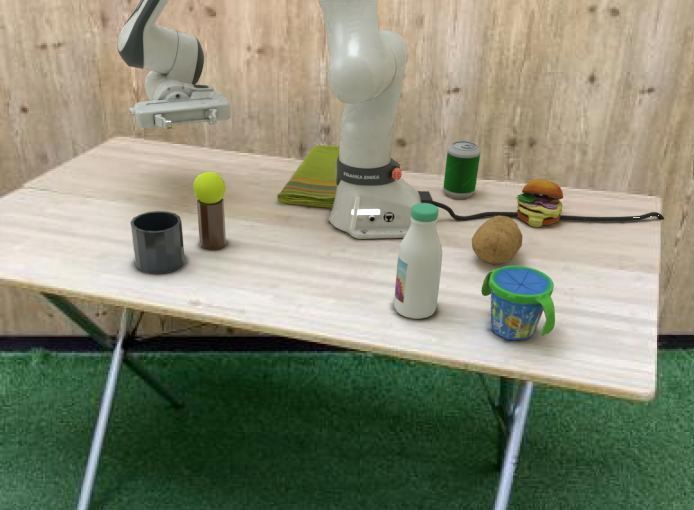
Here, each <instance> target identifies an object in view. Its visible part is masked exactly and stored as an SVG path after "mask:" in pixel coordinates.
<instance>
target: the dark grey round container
mask: <svg viewBox="0 0 694 510" xmlns="http://www.w3.org/2000/svg"><path fill="white" fill-rule="evenodd" d="M130 229H131V237H132V245H133V254H134V261H135V267H136V268H137V269H138V270H139V271H140V272H143V273H146V274H151V275H163V274H168V273H173V272H175V271H177V270H179V269H181V268H182V267H183V266H184V264H185V259H186V258H185V248H184V236H183V235H184V233H183V224H182V218H181V216H179V215H178V214H176V213H174V212H171V211H166V210H152V211H145V212H142V213H139V214H138V215H136V216H134V217H133V218H132V219H131V220H130Z"/></svg>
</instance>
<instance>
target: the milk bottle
mask: <svg viewBox="0 0 694 510" xmlns="http://www.w3.org/2000/svg"><path fill="white" fill-rule="evenodd" d="M439 211H440V210H439V207H436V206H435V205H433V204H429V203H418V204H415V205H413V206H412V208H411V218H410V219H411V221H412V222H411V225H410V228H409V230H408V232H407V234H406V235H405V237H404V238H402V241H401V243H400V244H399V245H400V246H399V249H398V254H397V263H396V264H397V265H396V274H395V275H396V276H395V277H396V278H395V287H394V297H393V298H394V299H393V307H394V309H395V311H396V312H397V314H399V315H401V316H403V317H404V318H409V319H416V320H417V319H418V320H419V319H425V318H429V317H431V316H433V315H434V313H436V310H437V306H438V298H439V290H440V282H441V273H442V265H443V264H442V263H443V246H442V242H441V239H440V236H439V234H438V229H437V222H438V218H439V213H440V212H439Z"/></svg>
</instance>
